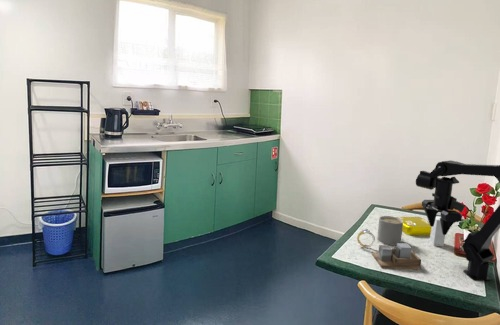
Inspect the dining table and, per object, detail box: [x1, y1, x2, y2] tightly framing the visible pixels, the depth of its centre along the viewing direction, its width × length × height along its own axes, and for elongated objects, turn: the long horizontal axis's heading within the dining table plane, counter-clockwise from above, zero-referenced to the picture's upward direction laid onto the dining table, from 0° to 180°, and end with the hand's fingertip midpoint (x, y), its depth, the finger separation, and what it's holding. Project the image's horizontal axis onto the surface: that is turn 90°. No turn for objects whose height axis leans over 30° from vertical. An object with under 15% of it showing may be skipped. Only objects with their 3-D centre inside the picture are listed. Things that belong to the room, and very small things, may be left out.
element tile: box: [396, 216, 432, 237], centre depth 173 cm, size 15×15×5 cm
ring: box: [356, 228, 376, 248], centre depth 150 cm, size 7×3×8 cm, turn 62°
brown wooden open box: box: [371, 244, 423, 270], centre depth 137 cm, size 11×15×6 cm
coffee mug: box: [376, 215, 403, 246], centre depth 159 cm, size 13×10×10 cm
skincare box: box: [429, 215, 446, 248], centre depth 156 cm, size 6×4×12 cm
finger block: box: [395, 242, 412, 259], centre depth 137 cm, size 4×4×6 cm
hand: (437, 230), depth 140 cm, fingers open, 9 cm apart
